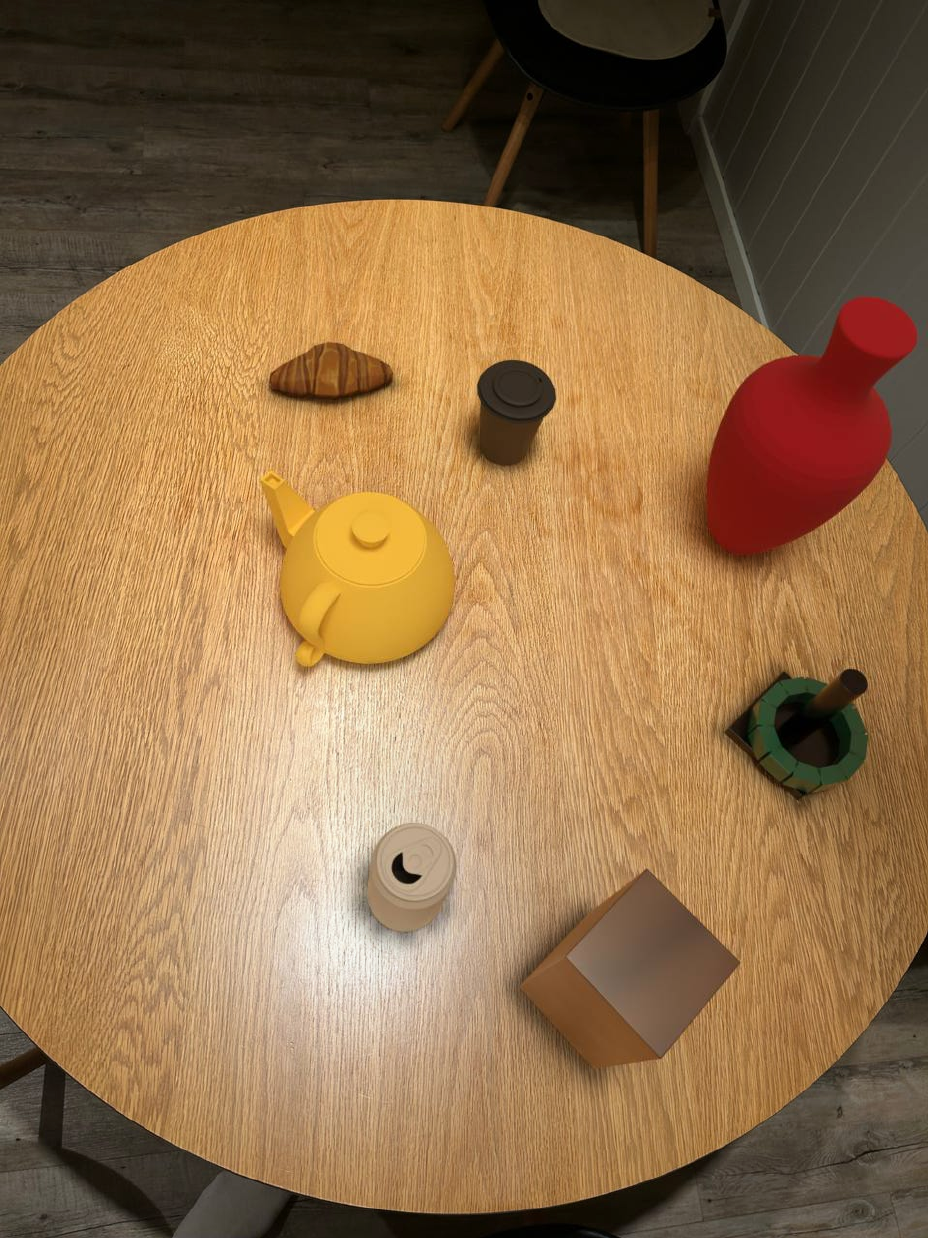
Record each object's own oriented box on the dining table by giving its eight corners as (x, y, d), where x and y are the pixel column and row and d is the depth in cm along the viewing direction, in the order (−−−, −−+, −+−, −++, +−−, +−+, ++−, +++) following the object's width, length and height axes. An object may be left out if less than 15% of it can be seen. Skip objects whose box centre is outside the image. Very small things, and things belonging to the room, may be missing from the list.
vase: (773, 465, 105) (918, 250, 79) (826, 577, 99) (1003, 385, 72) (652, 482, 102) (761, 265, 76) (699, 600, 96) (835, 408, 69)
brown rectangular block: (659, 991, 78) (741, 962, 62) (592, 1069, 74) (661, 1059, 59) (586, 915, 80) (647, 867, 64) (518, 987, 77) (564, 956, 61)
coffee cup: (555, 448, 103) (575, 386, 94) (505, 489, 99) (521, 429, 91) (501, 404, 105) (515, 340, 96) (450, 443, 101) (461, 380, 93)
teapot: (483, 581, 94) (502, 509, 83) (372, 724, 86) (377, 667, 74) (322, 480, 97) (319, 398, 86) (201, 608, 89) (180, 537, 78)
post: (851, 740, 91) (926, 686, 79) (797, 800, 87) (868, 753, 75) (778, 675, 93) (841, 614, 81) (724, 732, 89) (781, 676, 78)
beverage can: (351, 889, 79) (353, 855, 68) (409, 840, 81) (420, 800, 71) (400, 950, 77) (409, 925, 66) (458, 898, 79) (476, 866, 69)
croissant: (387, 357, 106) (389, 324, 102) (397, 404, 103) (399, 373, 99) (266, 365, 103) (263, 332, 99) (272, 413, 100) (269, 381, 96)
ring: (875, 743, 89) (888, 735, 87) (812, 814, 85) (824, 807, 83) (791, 667, 92) (802, 657, 90) (726, 732, 88) (736, 723, 86)
